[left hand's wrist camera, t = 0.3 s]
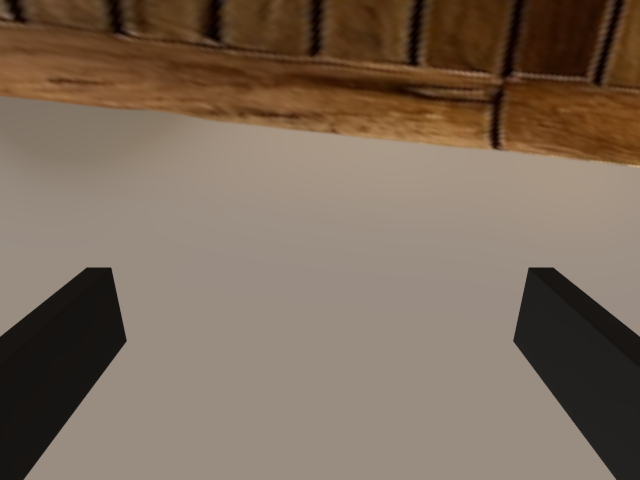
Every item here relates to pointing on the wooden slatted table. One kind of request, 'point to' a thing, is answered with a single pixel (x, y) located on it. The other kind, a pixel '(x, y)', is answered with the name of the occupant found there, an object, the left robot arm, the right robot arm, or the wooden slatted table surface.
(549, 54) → the wooden slatted table surface
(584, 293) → the left robot arm
